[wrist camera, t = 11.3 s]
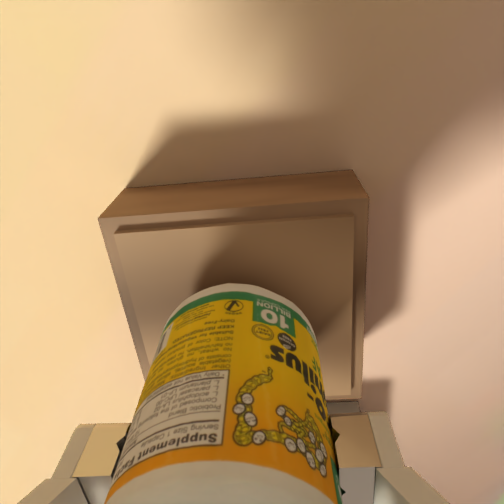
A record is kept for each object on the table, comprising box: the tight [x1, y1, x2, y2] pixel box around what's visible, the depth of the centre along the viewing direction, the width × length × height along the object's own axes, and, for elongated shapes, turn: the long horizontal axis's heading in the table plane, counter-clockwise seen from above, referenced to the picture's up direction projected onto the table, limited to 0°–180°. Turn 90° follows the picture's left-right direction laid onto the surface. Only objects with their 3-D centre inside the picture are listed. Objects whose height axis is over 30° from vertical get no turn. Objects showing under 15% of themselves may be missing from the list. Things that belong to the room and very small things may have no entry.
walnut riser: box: [98, 170, 369, 400], centre depth 17 cm, size 9×9×3 cm
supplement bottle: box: [104, 283, 343, 504], centre depth 11 cm, size 5×5×10 cm
